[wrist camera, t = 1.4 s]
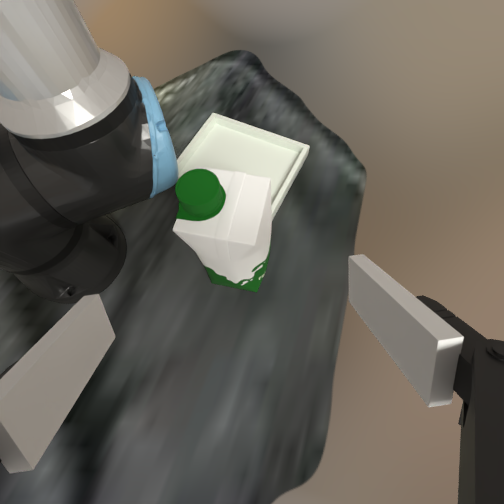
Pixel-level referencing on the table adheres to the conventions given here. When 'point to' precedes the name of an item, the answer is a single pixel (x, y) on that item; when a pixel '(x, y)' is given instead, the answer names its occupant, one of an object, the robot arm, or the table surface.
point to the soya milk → (226, 224)
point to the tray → (245, 154)
